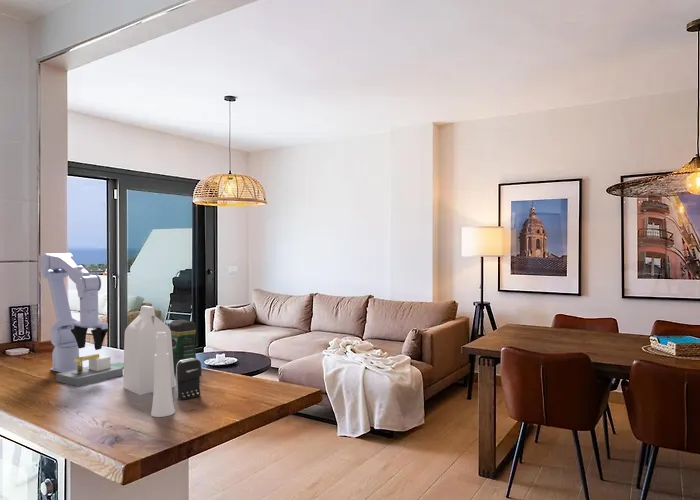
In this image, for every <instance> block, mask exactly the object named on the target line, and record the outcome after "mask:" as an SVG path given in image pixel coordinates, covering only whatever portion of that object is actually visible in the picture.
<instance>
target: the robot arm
mask: <svg viewBox="0 0 700 500" xmlns="http://www.w3.org/2000/svg"><path fill="white" fill-rule="evenodd" d="M40 268H41V273H42V276H43V278H44V279H47V281H48V286H49V290H50V295H51V299H52V305H53V308H54V309H53V310H54V314H55V318H56V322H54V323H53V325H51V327H50V329H49V331H50V342H51V345H53V346H54V348H53V350H52V353H51V354H52V355H51V356H52V357H51V358H52V367H51V368H49V370H51V371H53V372H58V373H62V372H67V371H71V370H76V369H77V362H74V358H78V357H80V349H83V348H84V349H85V347H86V337H87V331H88V330H89V329H92V330H90V331H91V332H90V333H91V334H92V338H93V345H94V346H93V347H94V350H95V351H98V350H102V348H103V343H104V340H105V337H106V335H107V333H108V332H109V328H108V327H109V326H108V325H109V324H108V322H102V321H100V320H99V291H100V290H101V288H102V280H101V277H100V276H99V274H91V272H89V271H88V270H87V269H86V268H85V267H84V266H83V265H77V263H75V258H74V255H73V253H72V252H66V253H65V252H64V253H63V252H62V253H61V252H60V253H59V252H57V253H55V252H54V253H48V252H47V253H46V252H45V253H43V254H42V255H41V258H40ZM66 277H68V278H69V279H70V280H71V281H72V282H73V284H75V287H76V291H77V297H78V298H79V320H77V319H75V318H73V316H72V312H71V309H70V308H71V307H70V303H69V299H68V295H67V290H66V286H65V282H64V279H65V278H66ZM83 368H85V366H83Z"/></svg>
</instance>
